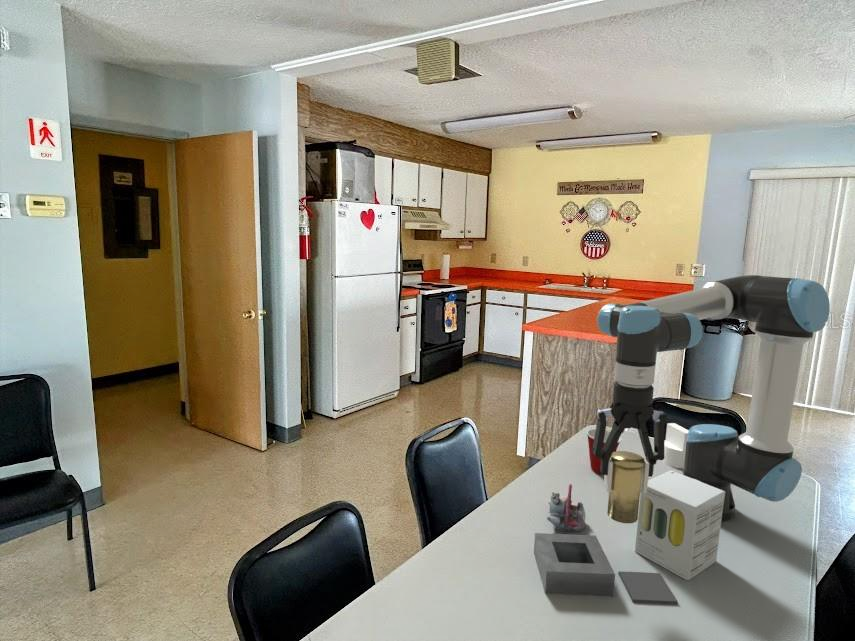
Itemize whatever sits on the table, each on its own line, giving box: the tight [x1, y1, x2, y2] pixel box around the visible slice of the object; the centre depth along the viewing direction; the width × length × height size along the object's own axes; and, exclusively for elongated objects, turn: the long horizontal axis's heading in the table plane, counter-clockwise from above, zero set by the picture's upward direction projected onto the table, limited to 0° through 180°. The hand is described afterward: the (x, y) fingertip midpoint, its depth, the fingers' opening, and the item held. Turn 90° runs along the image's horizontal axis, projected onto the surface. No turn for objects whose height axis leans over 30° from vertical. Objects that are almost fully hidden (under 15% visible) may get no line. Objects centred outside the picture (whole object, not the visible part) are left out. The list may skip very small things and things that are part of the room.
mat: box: [618, 570, 679, 605], centre depth 111 cm, size 9×9×1 cm
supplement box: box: [634, 469, 725, 581], centre depth 121 cm, size 13×13×18 cm
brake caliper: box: [546, 483, 586, 533], centre depth 135 cm, size 11×11×12 cm
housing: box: [533, 532, 616, 597], centre depth 115 cm, size 14×14×5 cm
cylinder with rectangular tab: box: [660, 422, 689, 470], centre depth 174 cm, size 9×9×12 cm
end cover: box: [606, 450, 645, 524], centre depth 110 cm, size 7×7×13 cm
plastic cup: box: [586, 428, 623, 475], centre depth 166 cm, size 11×11×12 cm
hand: (624, 489), depth 110 cm, fingers closed on end cover, 7 cm apart
